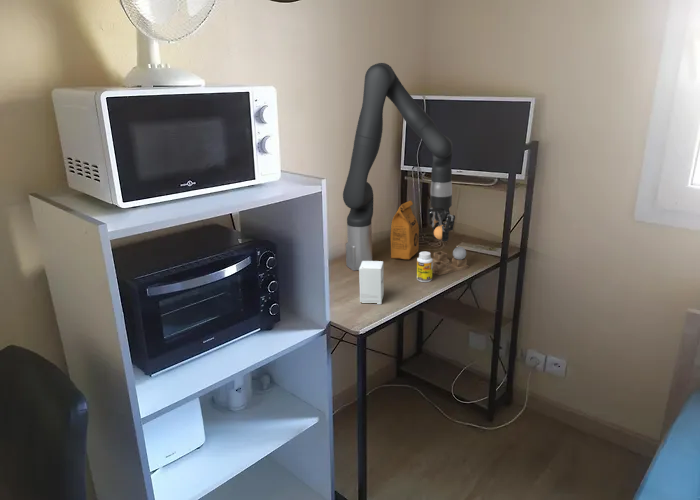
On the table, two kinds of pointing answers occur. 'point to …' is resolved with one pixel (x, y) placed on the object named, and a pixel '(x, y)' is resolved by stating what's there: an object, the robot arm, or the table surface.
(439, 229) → the ball orange
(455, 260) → the rack
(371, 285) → the supplement box
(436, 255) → the stand single
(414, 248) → the coffee package
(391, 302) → the table surface
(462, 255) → the ball grey
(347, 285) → the table surface
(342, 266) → the table surface
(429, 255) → the supplement bottle
